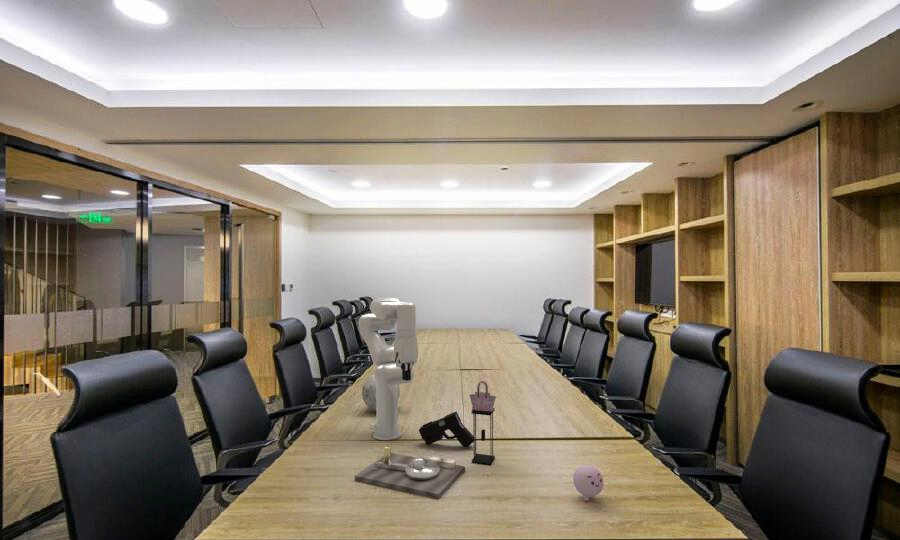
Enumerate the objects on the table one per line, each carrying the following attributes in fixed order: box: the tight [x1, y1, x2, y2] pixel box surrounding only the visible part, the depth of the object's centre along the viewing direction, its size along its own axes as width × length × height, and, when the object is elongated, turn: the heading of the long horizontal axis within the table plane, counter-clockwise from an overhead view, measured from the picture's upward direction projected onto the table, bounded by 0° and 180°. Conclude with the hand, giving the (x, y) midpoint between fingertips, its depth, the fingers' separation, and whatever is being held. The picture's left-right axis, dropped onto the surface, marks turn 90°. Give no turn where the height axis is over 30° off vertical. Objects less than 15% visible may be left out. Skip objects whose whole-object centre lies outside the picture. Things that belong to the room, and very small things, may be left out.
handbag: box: [469, 380, 497, 466], centre depth 164 cm, size 10×8×30 cm
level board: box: [354, 452, 466, 500], centre depth 152 cm, size 32×22×4 cm
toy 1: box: [418, 411, 474, 449], centre depth 179 cm, size 5×20×15 cm, turn 78°
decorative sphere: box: [361, 373, 401, 412], centre depth 228 cm, size 20×20×20 cm
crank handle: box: [378, 445, 440, 480], centre depth 152 cm, size 23×12×7 cm, turn 72°
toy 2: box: [572, 464, 604, 502], centre depth 135 cm, size 9×9×10 cm
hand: (406, 379), depth 171 cm, fingers closed
